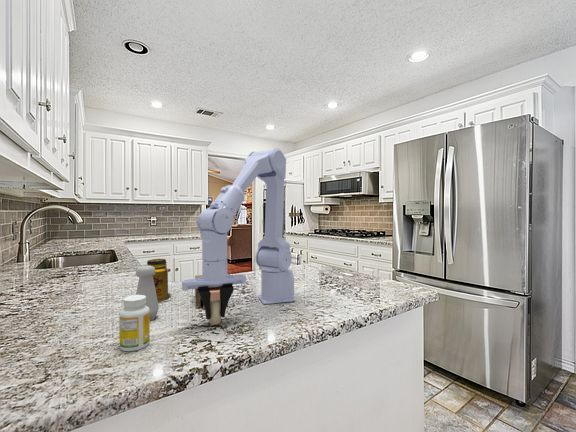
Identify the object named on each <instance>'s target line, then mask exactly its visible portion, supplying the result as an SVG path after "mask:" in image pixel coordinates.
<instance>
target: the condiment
mask: <svg viewBox="0 0 576 432" xmlns="http://www.w3.org/2000/svg"><path fill="white" fill-rule="evenodd" d="M146 266H153V267H154V268H155V275H153V280H154V285H155V290H156V295H157V300H158V303H164V302H169V301H172V294H171V292H169V280H168V279H169V271H168V267H167V259H166V258H155V259H154V258H152V259H149V260H147V262H146ZM169 298H170V299H171V300H170V299H169Z"/></svg>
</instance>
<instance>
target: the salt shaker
mask: <svg viewBox="0 0 576 432" xmlns="http://www.w3.org/2000/svg"><path fill="white" fill-rule="evenodd" d="M153 275H155V268H154V267H153V266H147V265H142V266H138V267H137V268H136V269H135V276H136V277H137V278H138V282H137V287H136V291H135V295H145V296H146V304H145V305H146V306H148V307H149V309H150V321H153V320H154V319H156V317H157V314H158V312H159V309H160V306H159V302H158V300H157V295H156V290H155V285H154V280H153Z"/></svg>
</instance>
